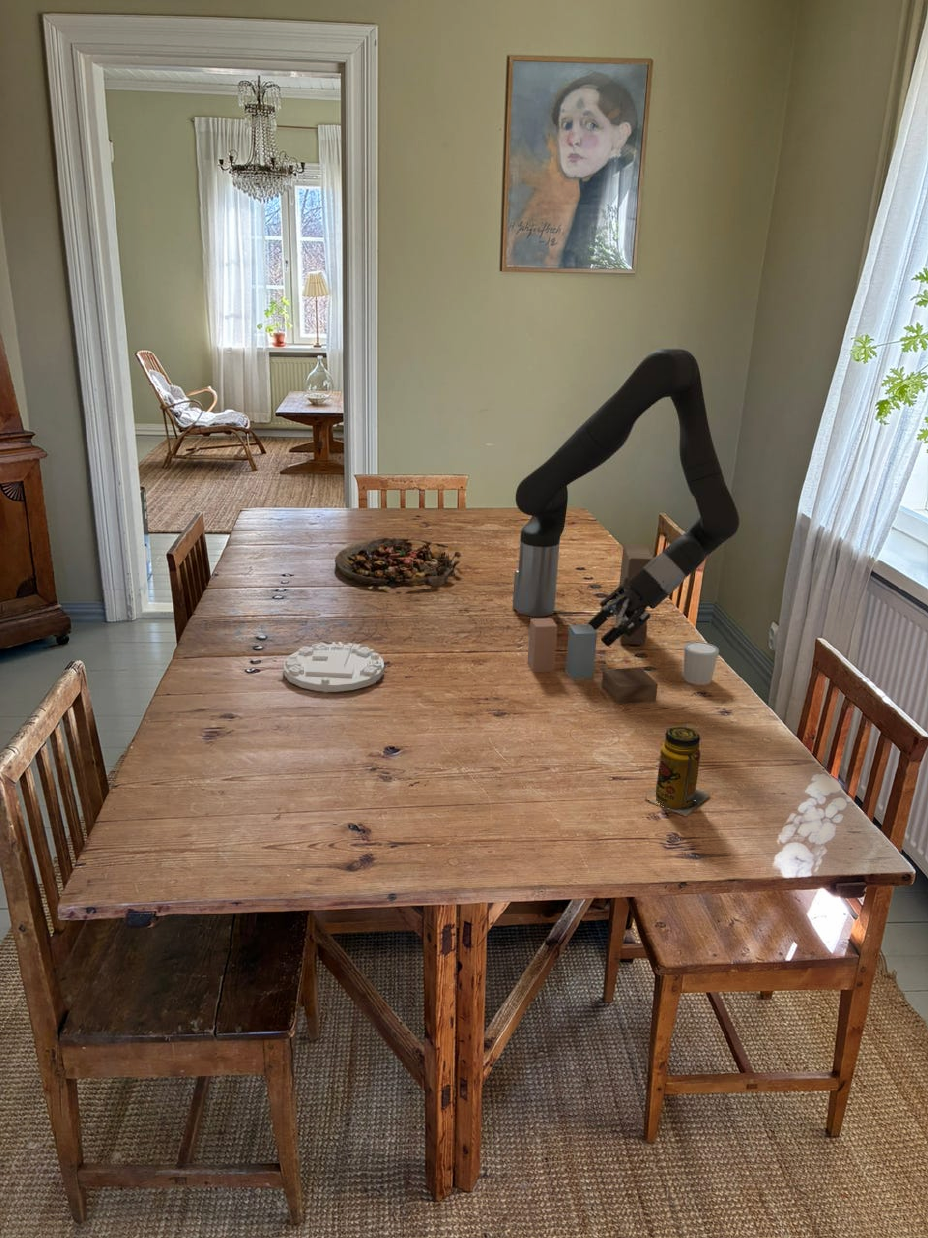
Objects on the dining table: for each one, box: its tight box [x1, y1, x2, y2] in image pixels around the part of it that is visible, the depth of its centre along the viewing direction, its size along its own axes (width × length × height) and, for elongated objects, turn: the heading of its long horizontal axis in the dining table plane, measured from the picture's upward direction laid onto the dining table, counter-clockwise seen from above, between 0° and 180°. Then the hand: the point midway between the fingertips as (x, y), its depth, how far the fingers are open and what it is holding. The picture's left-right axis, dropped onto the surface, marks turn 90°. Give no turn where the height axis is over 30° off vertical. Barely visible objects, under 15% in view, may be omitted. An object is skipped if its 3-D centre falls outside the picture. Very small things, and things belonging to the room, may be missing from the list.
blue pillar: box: [565, 624, 598, 680], centre depth 191 cm, size 4×4×10 cm
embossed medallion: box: [283, 641, 385, 694], centre depth 189 cm, size 20×20×3 cm
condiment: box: [644, 725, 711, 818], centre depth 148 cm, size 7×8×12 cm
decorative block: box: [614, 544, 654, 646], centre depth 210 cm, size 11×6×20 cm, turn 177°
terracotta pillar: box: [527, 617, 558, 673], centre depth 194 cm, size 4×4×10 cm
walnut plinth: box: [601, 666, 659, 706], centre depth 185 cm, size 8×8×4 cm
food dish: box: [334, 537, 462, 588], centre depth 251 cm, size 35×33×8 cm
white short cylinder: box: [682, 641, 720, 686], centre depth 192 cm, size 7×7×7 cm
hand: (597, 635), depth 190 cm, fingers open, 8 cm apart
